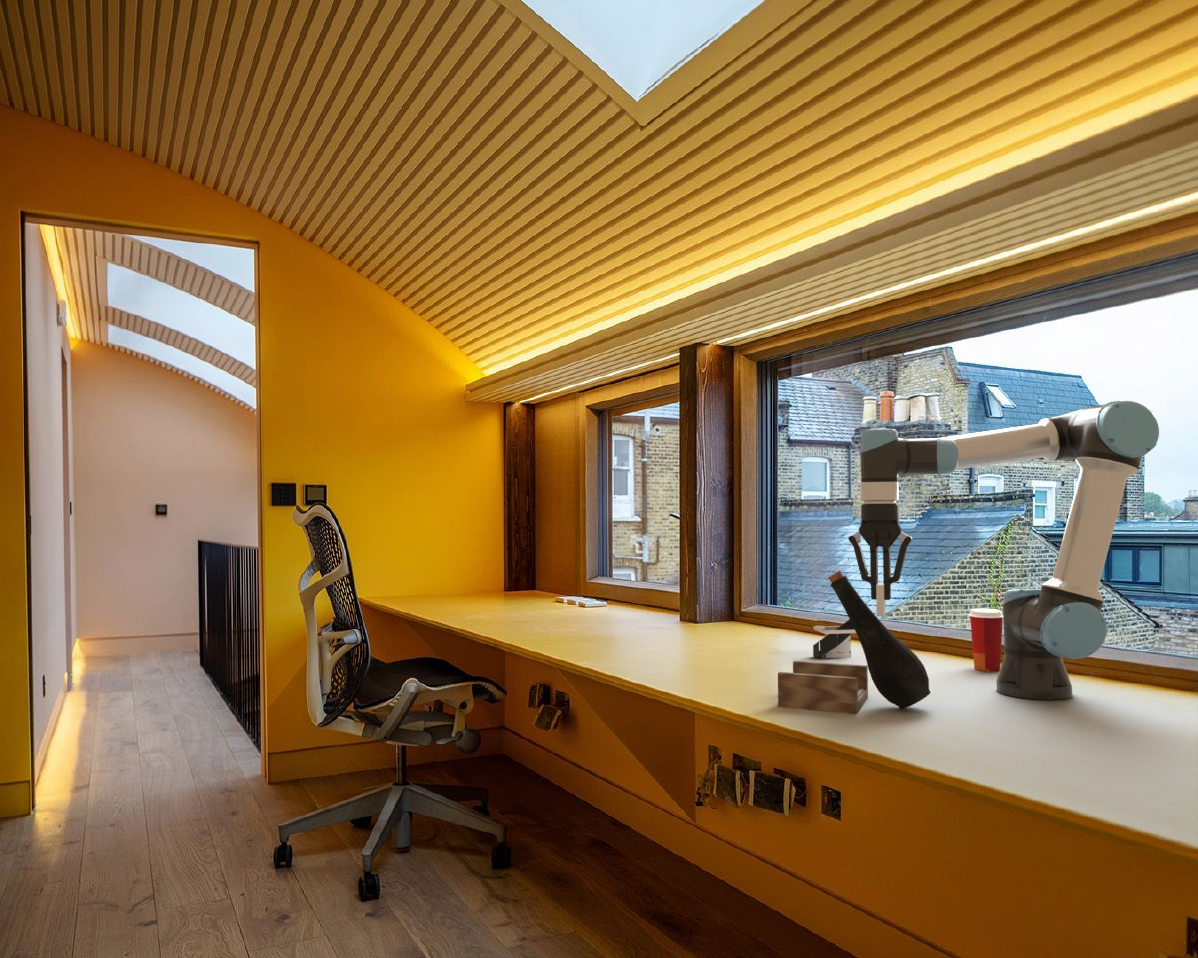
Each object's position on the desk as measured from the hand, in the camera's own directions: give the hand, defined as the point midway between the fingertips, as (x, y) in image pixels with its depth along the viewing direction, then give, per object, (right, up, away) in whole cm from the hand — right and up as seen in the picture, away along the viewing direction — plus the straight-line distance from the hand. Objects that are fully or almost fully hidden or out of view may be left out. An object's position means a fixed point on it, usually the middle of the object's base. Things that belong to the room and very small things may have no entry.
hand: (881, 615), depth 184 cm
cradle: (-11, -19, +5) cm, 22 cm away
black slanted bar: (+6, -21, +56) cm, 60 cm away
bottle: (+6, -17, -3) cm, 18 cm away
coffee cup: (+40, -20, +40) cm, 59 cm away
